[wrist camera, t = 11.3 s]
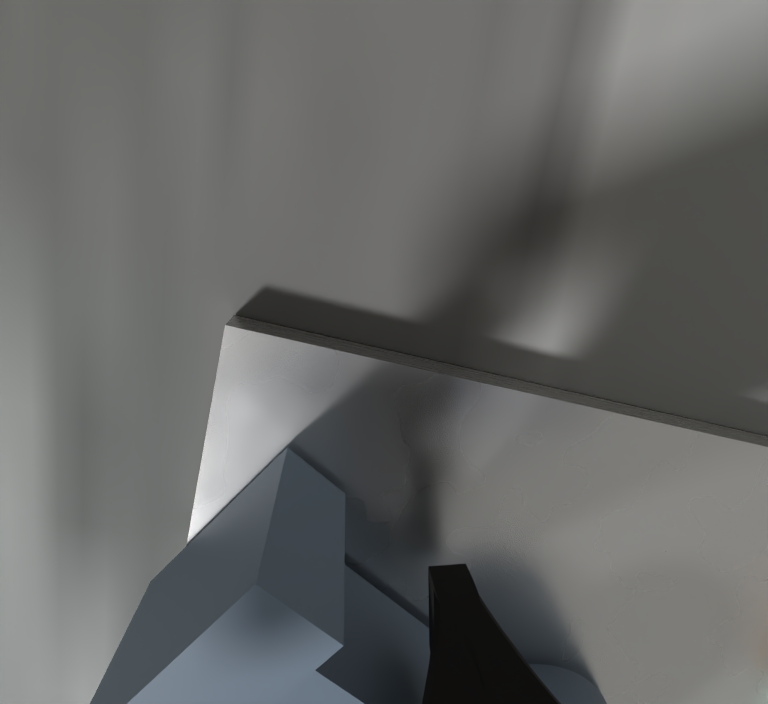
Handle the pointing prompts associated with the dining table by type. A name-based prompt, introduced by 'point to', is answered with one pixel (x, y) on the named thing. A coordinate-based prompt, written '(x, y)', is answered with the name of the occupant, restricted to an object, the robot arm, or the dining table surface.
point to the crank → (279, 614)
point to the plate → (518, 506)
